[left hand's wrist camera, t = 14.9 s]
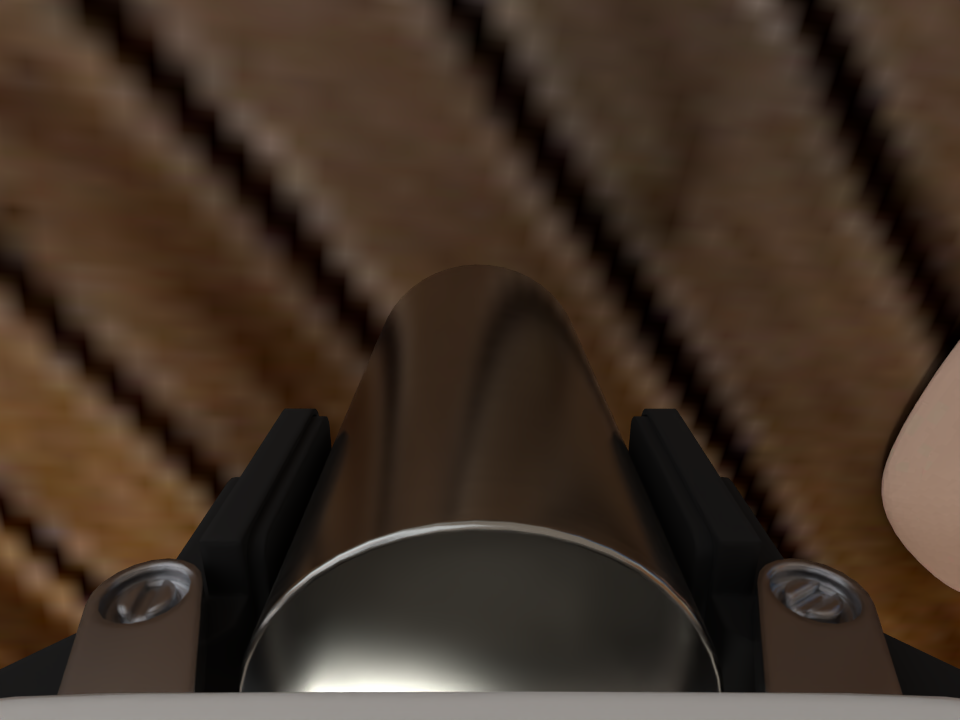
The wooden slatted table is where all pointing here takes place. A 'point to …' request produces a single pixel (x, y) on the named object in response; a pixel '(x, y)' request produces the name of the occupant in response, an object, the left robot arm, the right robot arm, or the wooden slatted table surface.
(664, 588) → the can
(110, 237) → the wooden slatted table surface
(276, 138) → the wooden slatted table surface
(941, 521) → the anatomical model
